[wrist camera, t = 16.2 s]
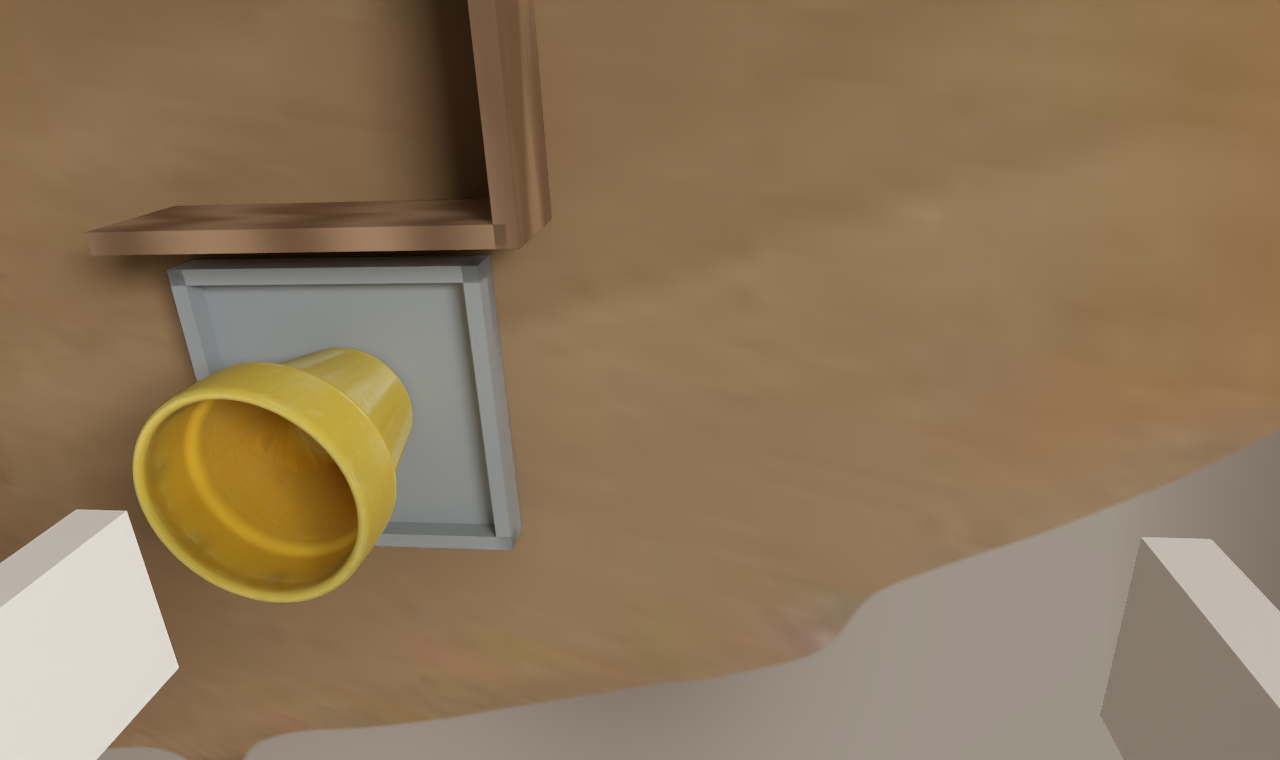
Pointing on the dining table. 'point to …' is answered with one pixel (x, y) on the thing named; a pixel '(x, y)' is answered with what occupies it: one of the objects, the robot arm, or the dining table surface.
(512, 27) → the box
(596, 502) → the dining table surface
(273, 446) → the plant pot
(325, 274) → the tray
